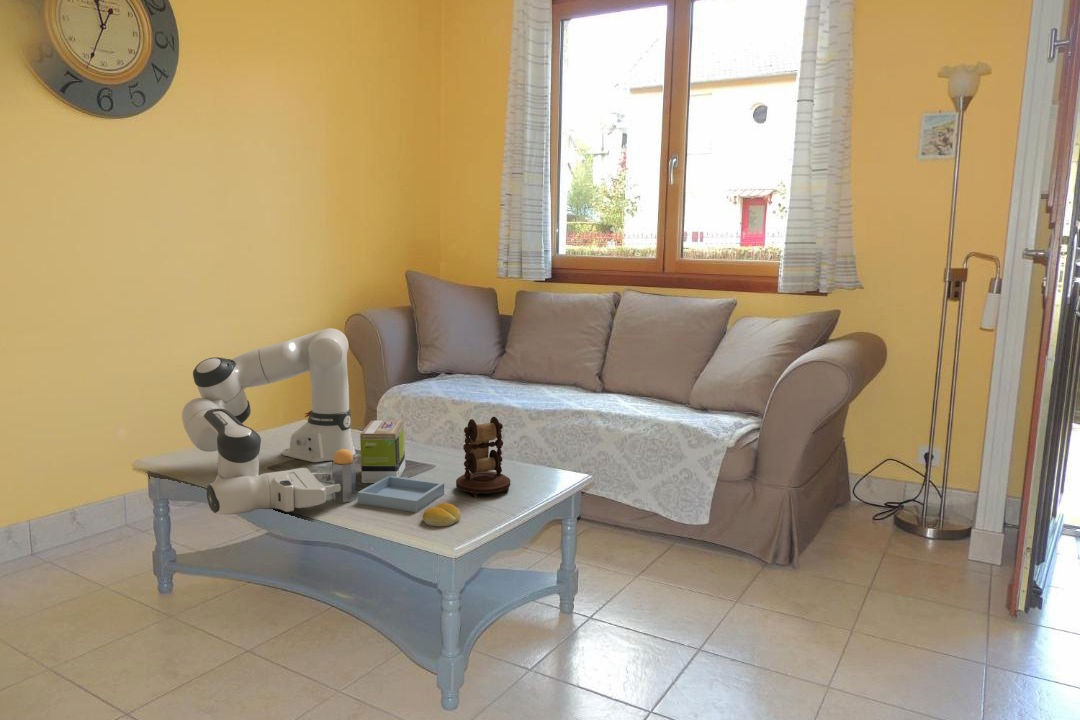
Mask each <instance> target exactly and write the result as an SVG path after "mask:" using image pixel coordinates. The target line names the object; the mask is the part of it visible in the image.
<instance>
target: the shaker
mask: <svg viewBox="0 0 1080 720" xmlns="http://www.w3.org/2000/svg"><path fill="white" fill-rule="evenodd" d="M331 470H332V471H331V475H332V476H331V477H332V479H331V480H332V484H333V483H339V484H340V485H341V490H340V491H338V492H333V493H332V500H333V501H334V502H335V503H340V504H345V503H351V502H353V501H355V500H357V485H356V484H357V483H356V481H357V480H356V479H357V478H356V477H357V476H356V461H355V460H354V459H353V461H352V463H350V464H344V465H341V464H336V463H335V462H334V460H332V462H331Z"/></svg>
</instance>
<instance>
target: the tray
mask: <svg viewBox="0 0 1080 720" xmlns="http://www.w3.org/2000/svg"><path fill="white" fill-rule="evenodd" d="M443 495H445V483H444V482H437V481H430V480H424V479H415V478H409V477H403V476H402V477H401V476H400V477H395V476H387V477H385V478H383V479H381V480H379V481H378V482H376V483H374V484H370V485H368V486H367V487H365V488H363V489H361V490H359V491H357V505H358V504H359V505H366V506H371V507H378V508H379V507H380V508H386V509H390V508H391V510H397V511H403V512H404V511H405V512H410V513H419V512H420V511H421V510H422V509H425V508H426V507H427V506H429V505H430V504H432V503H433V502H434V501H436V500H438V499H439V498H441V497H442V496H443Z"/></svg>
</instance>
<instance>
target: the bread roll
mask: <svg viewBox="0 0 1080 720" xmlns="http://www.w3.org/2000/svg"><path fill="white" fill-rule="evenodd" d="M461 517H462V516H461V512H460V510H459V508H458V507H456V505H454V504H452V503H448V502H441V503H437V504H436V505H435V506H434V507H428V509H426V510H425V511H424V512H423V513H422V520H423V522H424V523H425V524H426V526H430V527H435V526H439V527H449V526H452V525H454V524H456V523H458V522H459V521H460V519H461Z"/></svg>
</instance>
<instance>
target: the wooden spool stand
mask: <svg viewBox="0 0 1080 720" xmlns="http://www.w3.org/2000/svg"><path fill="white" fill-rule="evenodd" d="M489 421H490V422H487V423H486V422H485V423H479V424H477V422H476V421H475V419H473V418H471V419H469V421H468V423H467V426H465V427H464V428H463V432H464V436H465V439H464V445H463V451H464V453H465V455H464V460H465V461H463V466H464V470H465V471H464V474H463V475H461V476H459V477H458V478H456V480H455V485H456V488H457V489H459V490H461V491H462V492H467V493H470V494H472V495H473V498H477V496H478V494H494V493H500V492H503V491H505V493H508V492H509V490H510V489H509V488H510V487H511V479H510V477H508V476H506V475H505V474H503V473H502V472H503V469H502V462H503V457H502V454H503V452H502V447H503V445H504V441H503V436H502V432H503V428H504V425H503V423H501V422H500V421H499V419H498V418H497V416H492V417H491V418H490V420H489ZM490 447H491V448H494V447H496V449H497V450H496V449H491V450H490V451H489V449H490Z"/></svg>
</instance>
